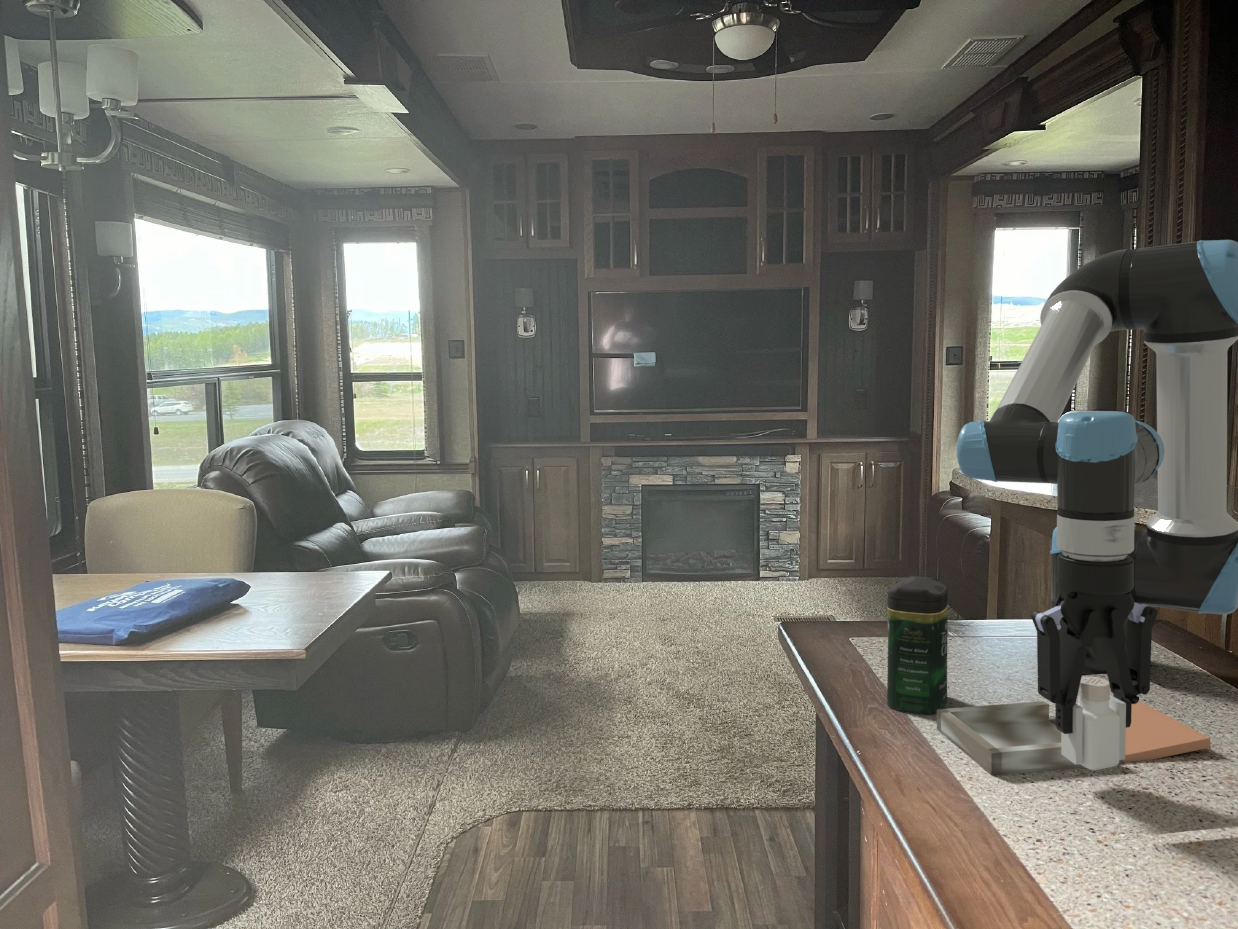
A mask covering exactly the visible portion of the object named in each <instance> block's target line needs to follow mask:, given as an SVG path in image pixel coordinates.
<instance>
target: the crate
mask: <svg viewBox="0 0 1238 929" xmlns="http://www.w3.org/2000/svg"><path fill="white" fill-rule="evenodd" d="M1049 717H1050V704H1049V703H1048V702H1047V701H1045V700H1040V701H1027V702H1017V703H1003V704H989V705H977V706H976V705H975V706H965V707H964V706H963V707H952V708H951V707H950V708H944V709H937V714H936V730H937V731H938V732H939V733H940V734H941V735H942V736H943V737H945V738H946V739H947V740H948V741H950V742H951V743H952V744H953V745H954V746H955V747H956V748H958V749H959V750H960V751H962V753H964V754H965V755H966V756H968V757H969V758H970V760H972V761H974V763H976V764H977V765H978V766H980V767H981V768H982V769H983V770H985V771H986V773H988V774H989V775H991V776H1004V775H1013V774H1015V775H1016V774H1027V773H1035V772H1036V773H1038V772H1048V771H1049V772H1050V771H1058V770H1059V771H1060V770H1072V769H1081V768H1082V769H1083V768H1084V769H1085V768H1086V767H1084V766H1082V765H1080V764H1078V765H1076V764H1074V763H1073V762H1071V761H1070V760H1069V759H1067V758H1066V757H1064V756H1063V755H1062V754H1061V736H1062V732H1061V731H1059V730H1058V729H1057V728H1056V725H1054V724H1053V723H1051V722H1050V721H1049Z"/></svg>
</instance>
